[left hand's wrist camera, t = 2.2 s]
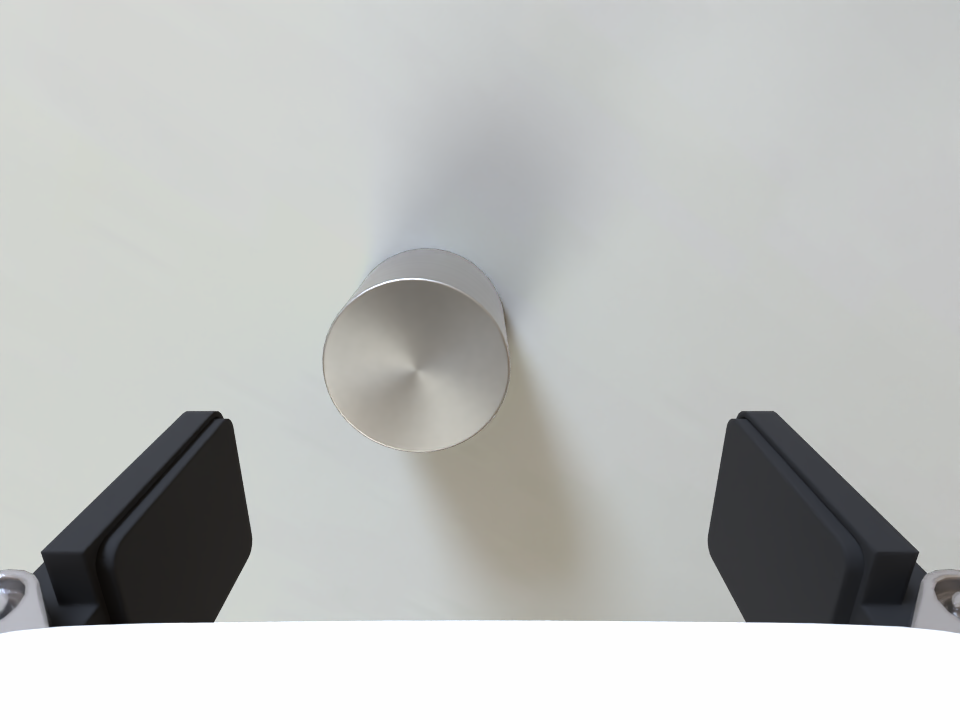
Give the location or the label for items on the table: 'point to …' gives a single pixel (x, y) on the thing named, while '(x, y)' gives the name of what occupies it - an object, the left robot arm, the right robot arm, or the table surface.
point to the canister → (419, 352)
